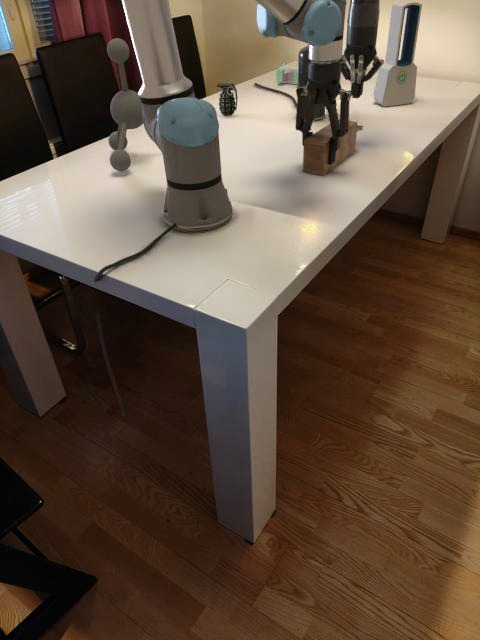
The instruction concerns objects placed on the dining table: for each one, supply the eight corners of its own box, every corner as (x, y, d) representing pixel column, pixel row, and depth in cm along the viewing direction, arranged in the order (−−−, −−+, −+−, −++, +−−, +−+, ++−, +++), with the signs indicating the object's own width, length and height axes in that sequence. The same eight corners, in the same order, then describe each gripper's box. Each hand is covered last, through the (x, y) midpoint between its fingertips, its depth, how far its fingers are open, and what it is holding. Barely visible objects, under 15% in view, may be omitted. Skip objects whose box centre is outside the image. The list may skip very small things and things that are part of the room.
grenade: (217, 117, 168) (214, 86, 162) (221, 112, 172) (219, 82, 166) (235, 117, 166) (233, 86, 160) (239, 113, 171) (238, 82, 165)
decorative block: (299, 55, 215) (340, 58, 206) (298, 71, 219) (339, 75, 210) (267, 66, 199) (310, 70, 190) (267, 83, 203) (309, 88, 194)
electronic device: (382, 107, 168) (394, 4, 149) (371, 102, 174) (382, 2, 155) (414, 102, 170) (430, 0, 152) (403, 98, 176) (417, -1, 158)
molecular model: (194, 162, 134) (180, 38, 116) (114, 177, 128) (87, 49, 110) (171, 138, 152) (156, 27, 133) (100, 151, 146) (75, 36, 127)
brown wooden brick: (334, 148, 138) (337, 119, 133) (354, 151, 135) (357, 121, 130) (302, 171, 126) (303, 139, 121) (323, 175, 123) (325, 143, 118)
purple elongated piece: (348, 138, 142) (349, 115, 138) (363, 140, 140) (365, 117, 136) (310, 164, 127) (311, 140, 123) (326, 167, 124) (328, 143, 121)
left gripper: (370, 60, 109) (360, 161, 123) (296, 55, 118) (294, 150, 132) (357, 66, 104) (348, 171, 118) (280, 61, 113) (280, 159, 127)
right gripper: (394, 21, 121) (384, 96, 131) (344, 20, 127) (339, 92, 137) (383, 26, 116) (374, 103, 126) (332, 24, 122) (327, 98, 133)
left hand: (319, 160), depth 125 cm, fingers closed on brown wooden brick, 6 cm apart
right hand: (356, 97), depth 132 cm, fingers closed
